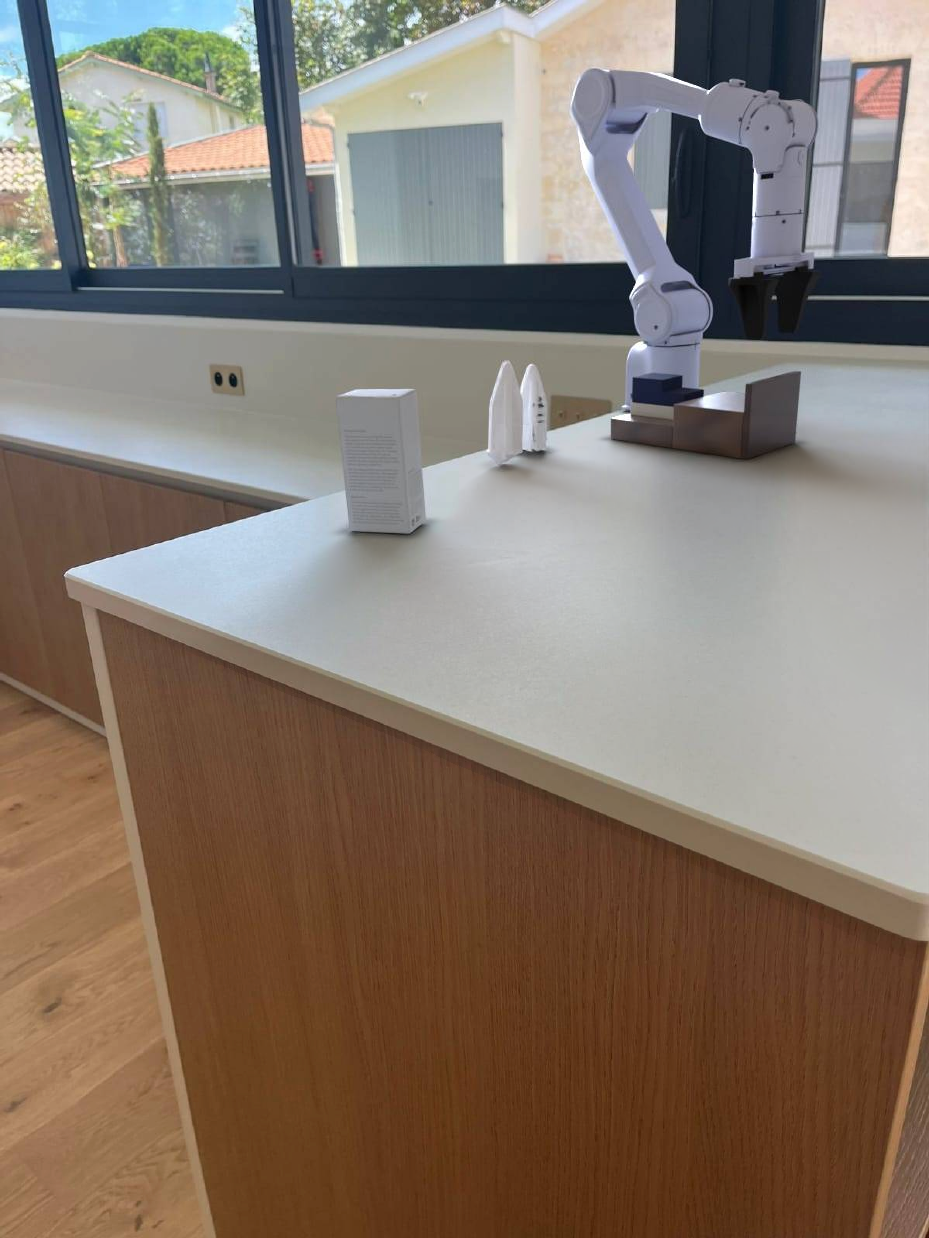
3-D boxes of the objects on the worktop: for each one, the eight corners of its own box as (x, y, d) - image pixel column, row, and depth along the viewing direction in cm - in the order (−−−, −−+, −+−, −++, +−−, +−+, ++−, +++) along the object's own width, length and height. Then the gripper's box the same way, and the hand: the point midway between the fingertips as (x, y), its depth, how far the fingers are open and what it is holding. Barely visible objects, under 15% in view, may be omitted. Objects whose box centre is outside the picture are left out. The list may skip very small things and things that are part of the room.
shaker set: (512, 472, 102) (509, 367, 98) (477, 469, 104) (473, 366, 99) (555, 448, 112) (554, 351, 107) (522, 446, 113) (520, 351, 109)
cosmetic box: (427, 521, 86) (418, 388, 82) (409, 535, 83) (399, 396, 78) (367, 518, 88) (354, 388, 84) (347, 531, 85) (333, 396, 80)
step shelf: (610, 438, 115) (611, 371, 112) (660, 425, 121) (662, 360, 118) (747, 459, 102) (752, 384, 99) (795, 443, 108) (801, 371, 105)
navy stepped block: (629, 414, 115) (630, 377, 114) (649, 409, 118) (650, 372, 116) (684, 421, 110) (686, 382, 108) (704, 416, 112) (706, 377, 111)
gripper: (775, 215, 104) (769, 343, 109) (840, 211, 112) (832, 330, 117) (719, 219, 109) (716, 342, 113) (786, 215, 117) (780, 329, 122)
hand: (771, 336), depth 116 cm, fingers open, 7 cm apart
